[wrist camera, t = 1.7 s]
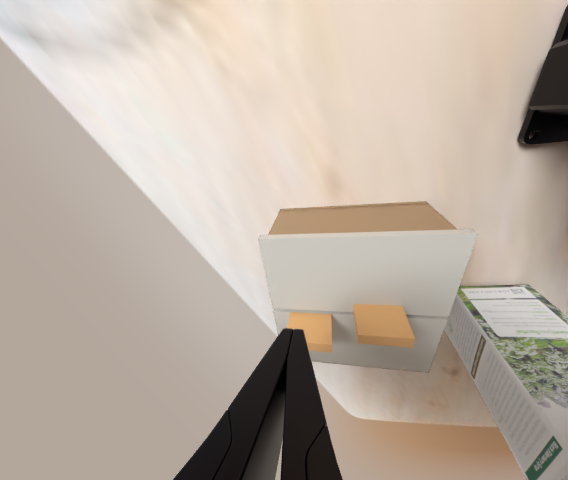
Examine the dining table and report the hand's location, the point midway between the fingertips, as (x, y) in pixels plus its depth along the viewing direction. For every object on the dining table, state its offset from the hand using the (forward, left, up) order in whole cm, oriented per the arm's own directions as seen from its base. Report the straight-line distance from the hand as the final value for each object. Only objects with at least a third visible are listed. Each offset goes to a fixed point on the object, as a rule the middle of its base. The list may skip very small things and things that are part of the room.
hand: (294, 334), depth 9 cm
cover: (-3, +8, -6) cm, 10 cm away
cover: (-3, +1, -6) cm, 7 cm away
